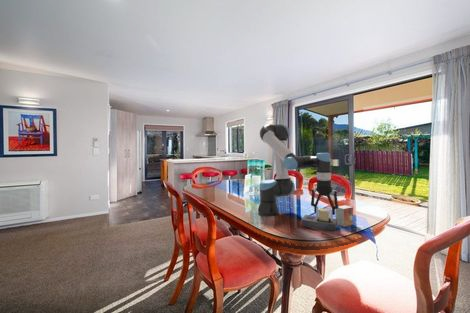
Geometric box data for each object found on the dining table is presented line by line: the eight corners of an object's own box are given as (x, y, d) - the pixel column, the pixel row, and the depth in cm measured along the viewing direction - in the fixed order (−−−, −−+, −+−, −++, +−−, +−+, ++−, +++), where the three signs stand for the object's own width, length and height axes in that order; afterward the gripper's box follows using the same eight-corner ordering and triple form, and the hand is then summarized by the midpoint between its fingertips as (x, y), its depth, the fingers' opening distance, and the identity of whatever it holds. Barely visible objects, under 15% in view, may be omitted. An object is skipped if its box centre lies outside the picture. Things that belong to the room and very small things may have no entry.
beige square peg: (319, 227, 118) (318, 210, 118) (320, 224, 122) (320, 208, 122) (328, 229, 115) (328, 211, 115) (330, 226, 119) (329, 209, 119)
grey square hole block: (301, 226, 121) (301, 219, 120) (305, 221, 129) (305, 214, 129) (335, 231, 111) (335, 224, 111) (337, 225, 120) (336, 218, 119)
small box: (343, 227, 117) (343, 209, 117) (335, 224, 122) (335, 206, 122) (353, 224, 120) (353, 207, 120) (345, 221, 126) (344, 204, 125)
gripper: (304, 179, 120) (305, 218, 120) (342, 181, 109) (343, 224, 110) (307, 178, 126) (308, 214, 127) (343, 179, 116) (344, 219, 116)
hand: (324, 219), depth 118 cm, fingers open, 7 cm apart
